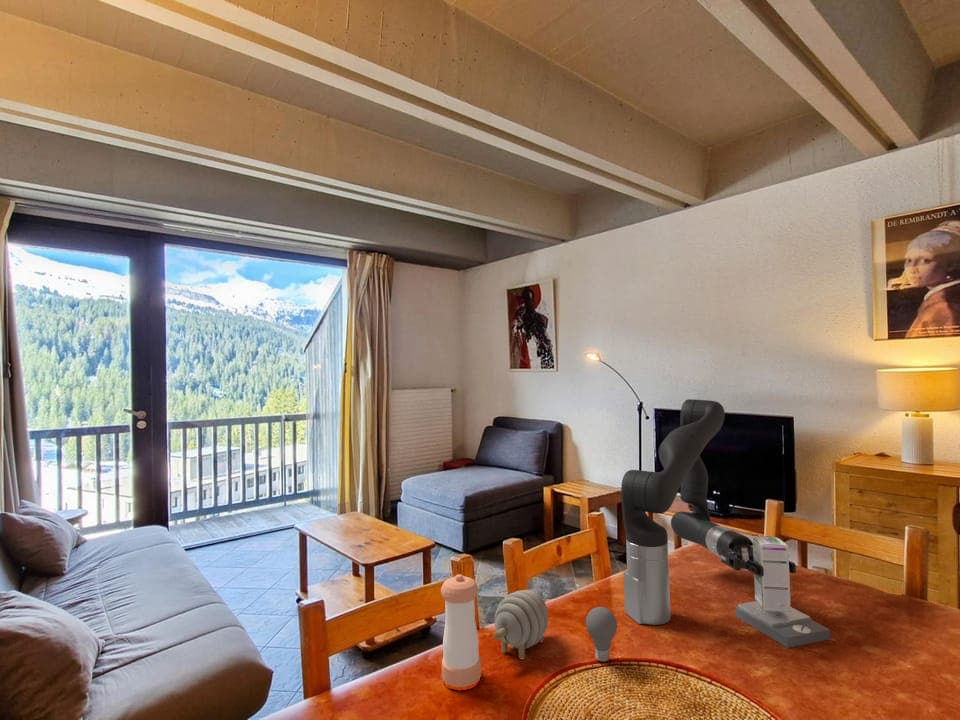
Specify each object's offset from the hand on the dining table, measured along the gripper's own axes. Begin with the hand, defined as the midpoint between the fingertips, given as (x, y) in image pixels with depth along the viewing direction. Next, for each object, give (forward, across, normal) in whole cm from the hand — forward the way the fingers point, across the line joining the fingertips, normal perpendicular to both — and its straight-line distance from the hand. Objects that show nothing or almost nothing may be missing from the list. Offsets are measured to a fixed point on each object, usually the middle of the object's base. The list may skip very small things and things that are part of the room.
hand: (778, 570), depth 109 cm
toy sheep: (-4, -57, +13) cm, 59 cm away
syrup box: (-2, 0, +9) cm, 9 cm away
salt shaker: (+4, -71, +13) cm, 72 cm away
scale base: (0, 0, +12) cm, 12 cm away
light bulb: (+4, -43, +12) cm, 45 cm away
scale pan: (-2, 0, +10) cm, 10 cm away
